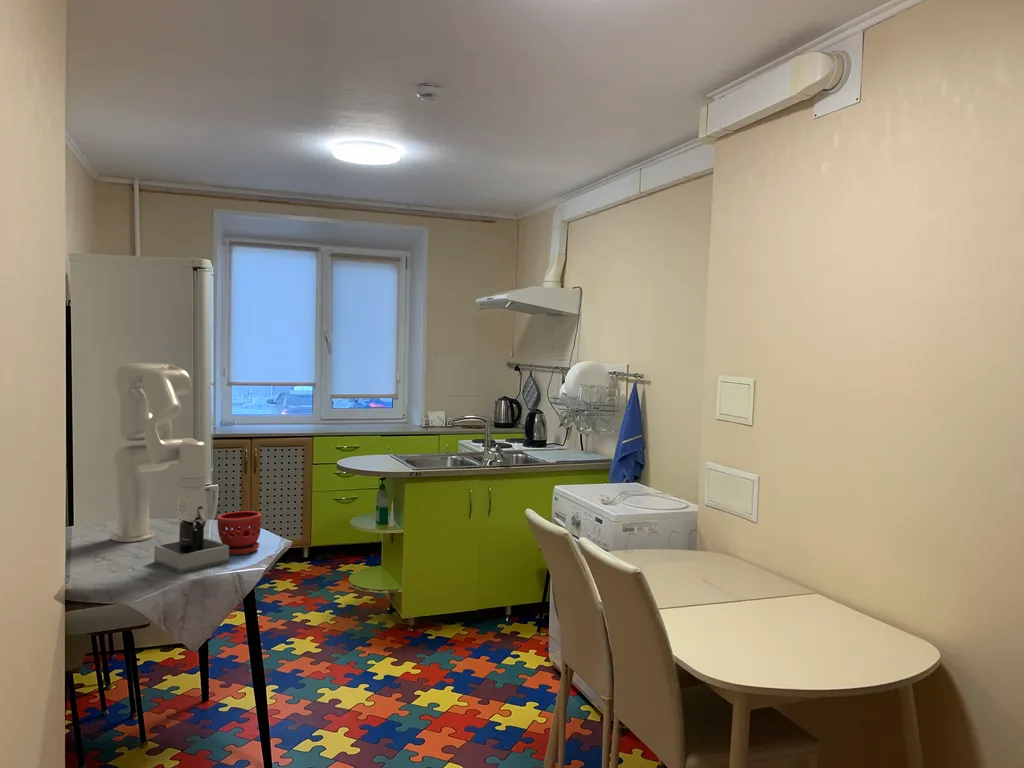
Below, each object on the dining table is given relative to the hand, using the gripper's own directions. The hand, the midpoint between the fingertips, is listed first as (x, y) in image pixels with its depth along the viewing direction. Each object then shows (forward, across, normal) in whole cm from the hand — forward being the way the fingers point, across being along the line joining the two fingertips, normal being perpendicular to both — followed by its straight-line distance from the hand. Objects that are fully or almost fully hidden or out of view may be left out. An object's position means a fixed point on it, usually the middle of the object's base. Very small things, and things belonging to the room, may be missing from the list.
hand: (191, 540), depth 212 cm
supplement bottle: (+4, 0, 0) cm, 4 cm away
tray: (+7, 0, 0) cm, 7 cm away
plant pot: (+7, -1, +16) cm, 17 cm away
